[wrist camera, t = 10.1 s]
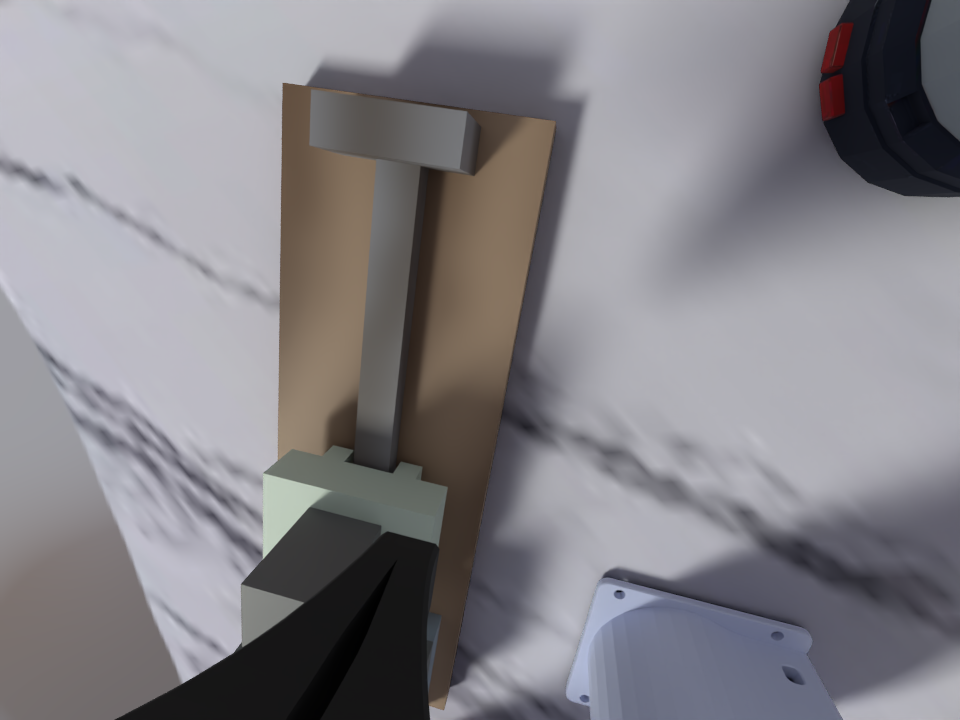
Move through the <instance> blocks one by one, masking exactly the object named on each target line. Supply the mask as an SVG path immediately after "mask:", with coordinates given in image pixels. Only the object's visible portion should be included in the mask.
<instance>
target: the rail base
mask: <svg viewBox="0 0 960 720" xmlns="http://www.w3.org/2000/svg"><path fill="white" fill-rule="evenodd" d="M555 133H556V121H551V120H544V119H537V118H530V117H523V116H516V115H509V114H501V113H494V112H487V111H480V110H473V109H466V108H459V107H452V106H445V105H437V104H430V103H423V102H416V101H409V100H402V99H395V98H388V97H381V96H373V95H366V94H359V93H352V92H345V91H338V90H331V89H324V88H317V87H309V86H302V85H295V84H288V83H283V101H282V177H281V254H280V331H279V407H278V460H279V459H281V458H282V457H283V456H284V455H285V454H287V453H288V452H289V451H290V450H291V449H295V450H299V451H303V452H307V453H311V454H315V455H319V456H323V455H324V454H325V453H326V452H327V451H328V450H329V449H330V448H331V447H332V446H333V445H334V446H339V447H343V448H347V449H351V450H354V460H353V464H356V465H360V466H364V467H368V468H372V469H376V470H380V471H384V472H388V473H394V471H395V470H396V468H397V467H398V465H399V464H400V462H405V463H409V464H413V465H417V466H421V467H422V475H421V481H425V482H429V483H433V484H437V485H441V486H446V487H448V489H447V495H446V501H445V508H444V514H443V520H442V527H441V533H440V540H439V546H438V547H439V549H440V551H439V557H438V563H437V570H436V576H435V582H434V589H433V595H432V601H431V607H430V611H429V615H428V619H427V680H428V698H429V706H432V707H435V708H438V709H441V710H444V708H445V704H446V700H447V696H448V692H449V688H450V683H451V677H452V672H453V667H454V662H455V656H456V651H457V646H458V641H459V635H460V630H461V625H462V620H463V614H464V609H465V604H466V599H467V593H468V588H469V583H470V578H471V573H472V567H473V562H474V557H475V552H476V546H477V541H478V536H479V531H480V525H481V520H482V515H483V510H484V504H485V499H486V494H487V489H488V483H489V478H490V473H491V468H492V463H493V457H494V452H495V447H496V442H497V436H498V431H499V426H500V421H501V415H502V410H503V405H504V400H505V394H506V389H507V384H508V379H509V373H510V368H511V363H512V358H513V353H514V347H515V342H516V337H517V332H518V326H519V321H520V316H521V311H522V305H523V300H524V295H525V290H526V284H527V279H528V274H529V269H530V263H531V258H532V253H533V248H534V243H535V237H536V232H537V227H538V222H539V216H540V211H541V206H542V201H543V195H544V190H545V185H546V180H547V174H548V169H549V164H550V159H551V154H552V148H553V143H554V138H555ZM241 648H242V643H241V644H240V645H239V647H238V648H237V649H236V651H238V650H239V649H241ZM236 651H235V652H236Z"/></svg>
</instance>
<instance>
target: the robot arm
mask: <svg viewBox="0 0 960 720" xmlns="http://www.w3.org/2000/svg"><path fill="white" fill-rule="evenodd" d="M439 551H440V549H439V547H438V546H437V545H436V544H435V543H431V542H427V541H423V540H420V539H416V538H412V537H408V536H404V535H400V534H397V533H393V532H389V531H387V532H385V533H383V534H382V535H381V536H380V537H379V538H378V539H377V540H376V541H375V542H374V543H373V544H372V545H371V546H370V547H369V548H368V549H366V550H365V551H364V552H363V553H362V554H361V555H360V556H359V557H358V558H357V559H356V560H355V561H353V562H352V563H351V564H350V565H349V566H348V567H347V568H346V569H345V570H343V571H342V572H341V573H340V574H339V575H338V576H336V577H335V578H334V579H333V580H332V581H330V582H329V583H328V584H327V585H326V586H325V587H323V588H322V589H321V590H320V591H319V592H317V593H316V594H315V595H314V596H312V597H311V598H310V599H309V600H307V601H306V602H305V603H303V604H302V605H301V606H299V607H298V608H297V609H296V610H294V611H293V612H292V613H290V614H289V615H288V616H286V617H285V618H284V619H282V620H281V621H280V622H278V623H277V624H276V625H274V626H273V627H271V628H270V629H269V630H267V631H266V632H264V633H263V634H261V635H260V636H259V637H257V638H256V639H254V640H253V641H251V642H250V643H248V644H247V645H245V646H244V647H242V648H241V649H239V650H238V651H236V652H234V653H233V654H231V655H230V656H228V657H226V658H225V659H223V660H221V661H220V662H218V663H217V664H215V665H213V666H212V667H210V668H208V669H207V670H205V671H203V672H202V673H200V674H199V675H197V676H195V677H193V678H192V679H190V680H188V681H186V682H185V683H183V684H181V685H179V686H178V687H176V688H174V689H172V690H171V691H169V692H167V693H165V694H163V695H161V696H159V697H157V698H155V699H153V700H152V701H150V702H148V703H146V704H144V705H142V706H140V707H138V708H136V709H134V710H132V711H131V712H129V713H127V714H125V715H123V716H121V717H119V718H117V719H115V720H430V713H429V698H428V680H427V619H428V615H429V611H430V607H431V601H432V595H433V589H434V582H435V576H436V570H437V563H438V557H439ZM617 590H622V591H623V592H621V593H617V592H615V591H617ZM776 631H777V632H776ZM773 632H776V633H773ZM812 643H813V640H812V637H811V635H810V634H809V632H808V631H807V630H806V629H804V628H802V627H798V626H794V625H791V624H787V623H783V622H779V621H775V620H771V619H767V618H764V617H760V616H756V615H752V614H748V613H744V612H740V611H736V610H733V609H729V608H725V607H721V606H717V605H713V604H709V603H706V602H702V601H698V600H694V599H690V598H686V597H682V596H678V595H675V594H671V593H667V592H663V591H659V590H655V589H651V588H648V587H644V586H640V585H636V584H632V583H628V582H624V581H621V580H617V579H613V578H602V579H601V580H599V582H598V583H597V587H596V590H595V593H594V596H593V600H592V603H591V606H590V609H589V613H588V616H587V619H586V622H585V626H584V629H583V632H582V635H581V639H580V642H579V645H578V648H577V651H576V655H575V658H574V661H573V664H572V668H571V671H570V674H569V677H568V681H567V684H566V697H567V698H568V699H569V700H570V701H573V702H576V703H579V704H582V705H586V706H589V707H590V719H591V720H843V719H842V717H841V715H840V713H839V712H838V710H837V708H836V706H835V704H834V703H833V701H832V699H831V697H830V695H829V694H828V692H827V690H826V688H825V686H824V685H823V683H822V681H821V679H820V677H819V676H818V674H817V672H816V670H815V668H814V667H813V665H812V663H811V661H810V659H809V658H808V656H807V653H808V651H809V649H810V648H811V646H812Z"/></svg>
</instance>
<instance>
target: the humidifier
mask: <svg viewBox="0 0 960 720" xmlns="http://www.w3.org/2000/svg"><path fill="white" fill-rule="evenodd" d="M821 73H822V77H821V81H820V84H819V90H820V101H821V112H822V120H823V121H824V125H825V127H826V129H827V131H828V133H829V135H830V137H831V140H832V142H833V144H834V146H835V148H836V150H837V152H838V154H839V156H840V158H841V159H842V160H843V161H844V162H846V163H847V164H848V165H849V166H850V167H851V168H852V169H853V170H855V171H856V172H857V173H858V174H859V175H860V176H861V177H862V178H863V179H865V180H866V181H867V182H868V183H871V184H874V185H876V186H879V187H882V188H884V189H887V190H890V191H893V192H895V193H898V194H901V195H904V196H924V197H960V0H850V1H849V3H848V5H847V7H846V9H845V11H844V13H843V15H842V16H841V18H840V20H839V22H838V24H837V26H836V28H834V29H833V30H831V31H830V33H829V38H828V42H827V46H826V51H825V55H824V59H823V64H822V68H821Z"/></svg>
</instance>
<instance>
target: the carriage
mask: <svg viewBox="0 0 960 720" xmlns="http://www.w3.org/2000/svg"><path fill="white" fill-rule="evenodd" d="M353 460H354V450H351V449H347V448H343V447H339V446H334V445H333V446H332V447H331V448H330V449H329V450H328V451H327V452H326V453H325V454H324V455H323V456H319V455H315V454H311V453H307V452H303V451H299V450H295V449H291V450H290V451H289V452H288V453H287V454H285V455H284V456H283V457H282V458H281V459H279V460H278V461H277V462H276V463H275V464H274V465H272V466H271V467H270V468H269V469H268V470H266V471H265V472H264V473H263V560H262V561H261V562H260V563H259V564H258V566H257V567H256V568H255V569H254V570H253V571H252V572H251V573H250V575H249V576H248V577H247V578H246V579H245V580H244V581H243V582H242V584H241V618H242V647H244V646H245V645H247V644H248V643H250V642H251V641H253V640H254V639H256V638H257V637H259V636H260V635H261V634H263V633H264V632H266V631H267V630H269V629H270V628H271V627H273V626H274V625H276V624H277V623H278V622H280V621H281V620H282V619H284V618H285V617H286V616H288V615H289V614H290V613H292V612H293V611H294V610H296V609H297V608H298V607H299V606H301V605H302V604H303V603H305V602H306V601H307V600H309V599H310V598H311V597H312V596H314V595H315V594H316V593H317V592H319V591H320V590H321V589H322V588H323V587H325V586H326V585H327V584H328V583H329V582H330V581H332V580H333V579H334V578H335V577H336V576H338V575H339V574H340V573H341V572H342V571H343V570H345V569H346V568H347V567H348V566H349V565H350V564H351V563H352V562H353V561H355V560H356V559H357V558H358V557H359V556H360V555H361V554H362V553H363V552H364V551H365V550H366V549H368V548H369V547H370V546H371V545H372V544H373V543H374V542H375V541H376V540H377V539H378V538H379V537H380V536H381V535H382V534H383V533H385V532H387V531H389V532H393V533H397V534H400V535H404V536H408V537H412V538H416V539H420V540H423V541H427V542H431V543H435V544H436V545H437V546H439V540H440V533H441V527H442V520H443V514H444V508H445V501H446V495H447V489H448V487H446V486H441V485H437V484H433V483H429V482H425V481H421V475H422V467H421V466H417V465H413V464H409V463H405V462H400V464H399V465H398V467H397V468H396V470H395V471H394V473H388V472H384V471H380V470H376V469H372V468H368V467H364V466H360V465H356V464H353Z"/></svg>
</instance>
